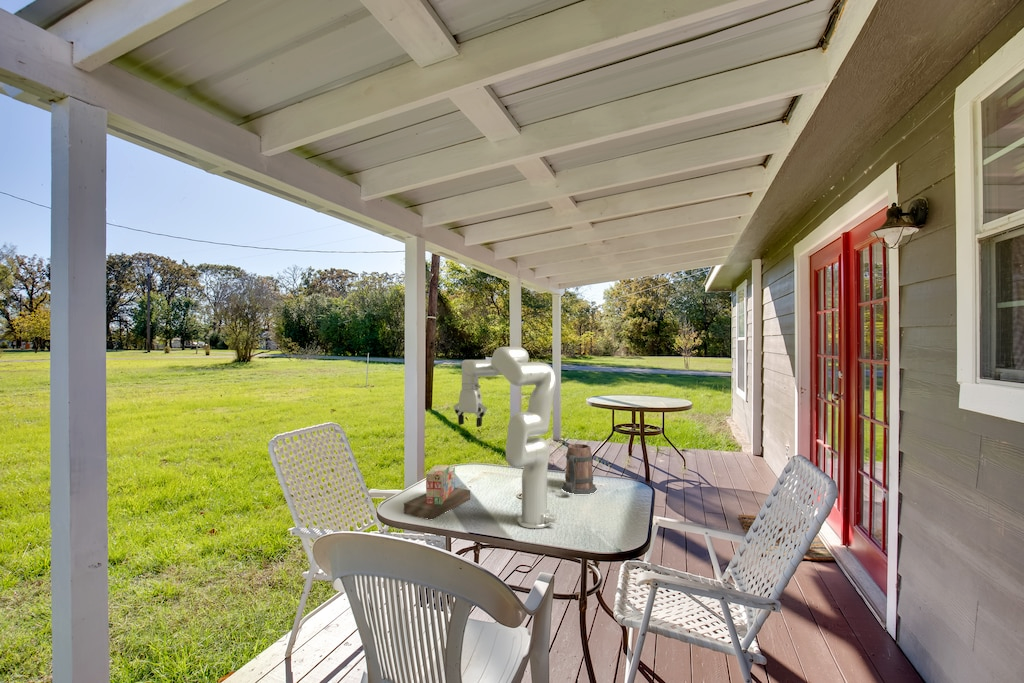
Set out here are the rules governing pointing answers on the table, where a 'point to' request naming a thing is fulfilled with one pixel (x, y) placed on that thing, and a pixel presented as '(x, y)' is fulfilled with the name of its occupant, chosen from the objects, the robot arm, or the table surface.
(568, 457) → the tankard
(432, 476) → the stack of blocks
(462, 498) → the plinth
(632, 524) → the table surface
